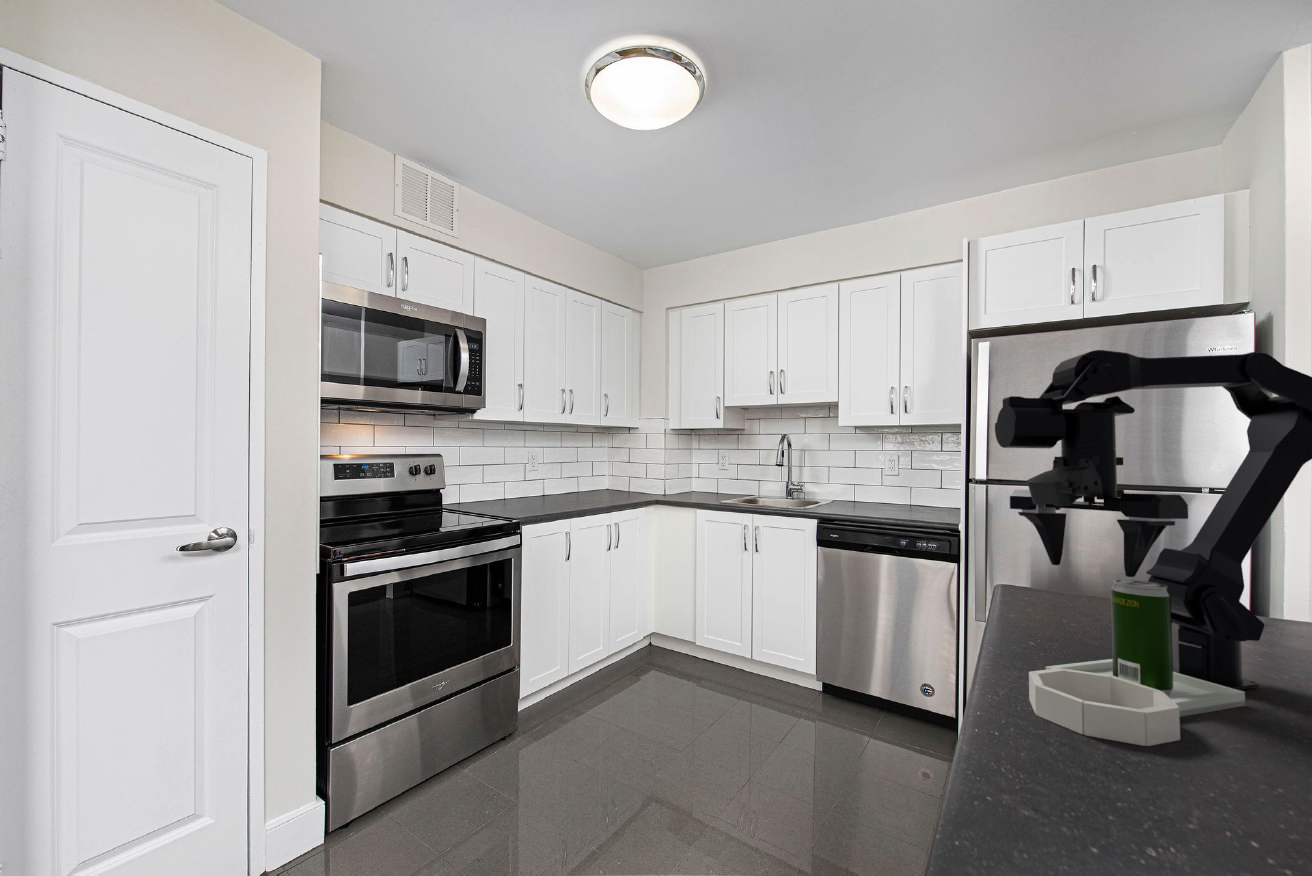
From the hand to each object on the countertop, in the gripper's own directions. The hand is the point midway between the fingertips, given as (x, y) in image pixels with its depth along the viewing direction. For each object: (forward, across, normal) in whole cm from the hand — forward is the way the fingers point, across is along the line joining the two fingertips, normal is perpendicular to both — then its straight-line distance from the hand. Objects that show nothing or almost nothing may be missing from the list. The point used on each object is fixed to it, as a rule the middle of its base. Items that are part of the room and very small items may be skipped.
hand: (1090, 570), depth 74 cm
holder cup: (+13, +10, -14) cm, 22 cm away
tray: (+13, +6, -1) cm, 14 cm away
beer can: (+13, +6, -2) cm, 14 cm away
